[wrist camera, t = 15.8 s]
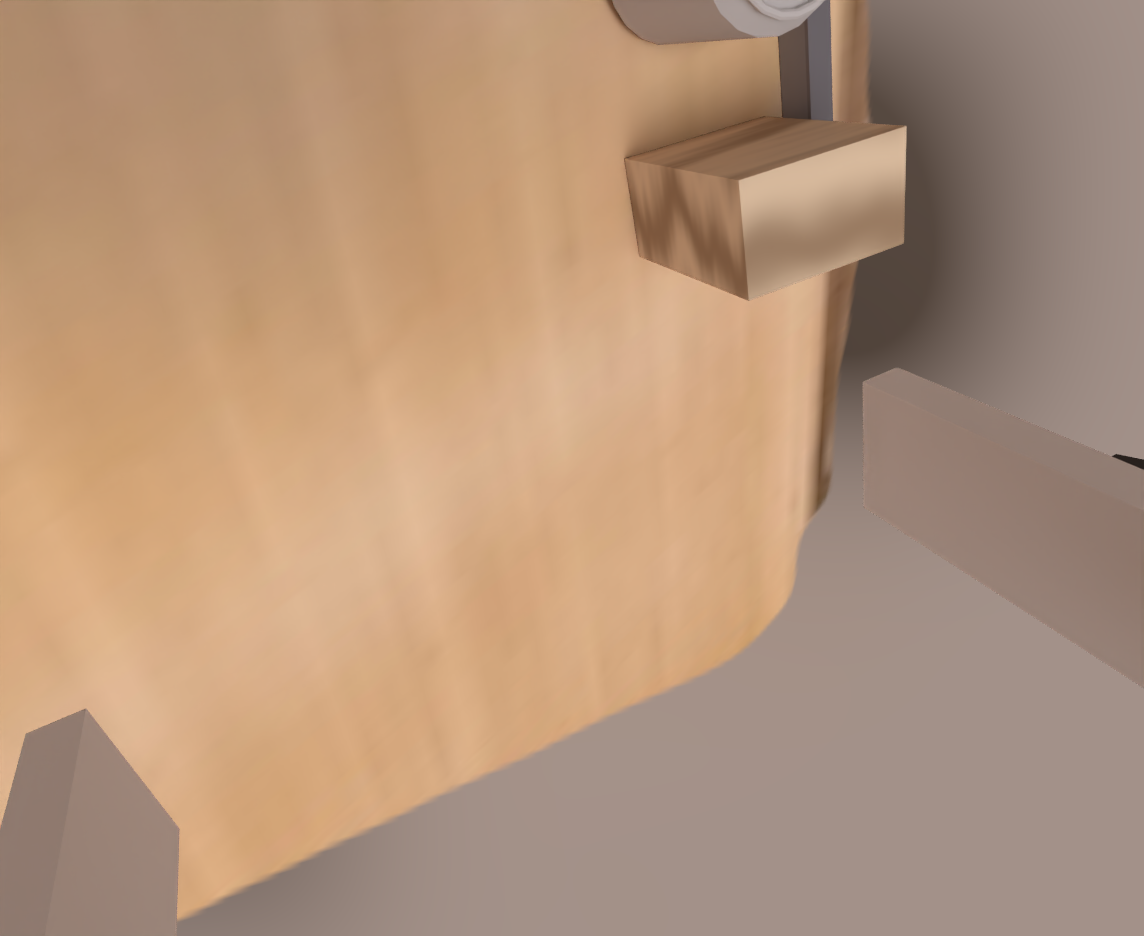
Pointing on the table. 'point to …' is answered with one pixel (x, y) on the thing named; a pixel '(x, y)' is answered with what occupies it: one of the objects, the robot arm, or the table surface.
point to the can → (712, 18)
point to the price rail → (807, 68)
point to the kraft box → (770, 201)
